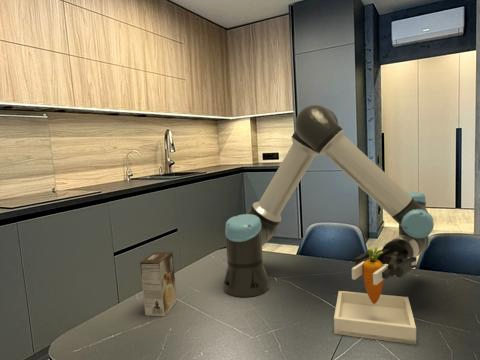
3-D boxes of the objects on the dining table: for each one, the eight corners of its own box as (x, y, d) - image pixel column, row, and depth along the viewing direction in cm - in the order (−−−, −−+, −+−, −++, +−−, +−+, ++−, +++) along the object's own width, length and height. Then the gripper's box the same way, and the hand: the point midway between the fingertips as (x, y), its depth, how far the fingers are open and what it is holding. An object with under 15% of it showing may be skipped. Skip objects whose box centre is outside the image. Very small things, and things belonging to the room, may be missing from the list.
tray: (334, 333, 85) (333, 318, 84) (339, 304, 99) (338, 290, 99) (416, 344, 78) (416, 328, 78) (408, 311, 93) (408, 297, 93)
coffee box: (158, 301, 108) (153, 251, 106) (177, 302, 107) (173, 251, 105) (144, 316, 99) (139, 261, 97) (165, 317, 98) (160, 262, 96)
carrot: (375, 297, 91) (374, 242, 90) (388, 305, 87) (387, 247, 85) (359, 301, 90) (358, 245, 88) (372, 310, 85) (371, 251, 84)
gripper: (434, 270, 94) (401, 301, 78) (370, 258, 107) (331, 282, 90) (434, 243, 93) (401, 269, 77) (370, 234, 106) (330, 254, 89)
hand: (363, 276), depth 84 cm, fingers closed on carrot, 5 cm apart
